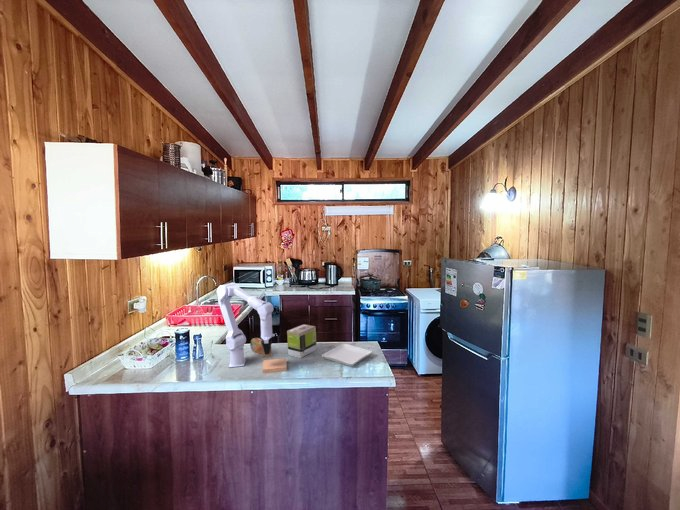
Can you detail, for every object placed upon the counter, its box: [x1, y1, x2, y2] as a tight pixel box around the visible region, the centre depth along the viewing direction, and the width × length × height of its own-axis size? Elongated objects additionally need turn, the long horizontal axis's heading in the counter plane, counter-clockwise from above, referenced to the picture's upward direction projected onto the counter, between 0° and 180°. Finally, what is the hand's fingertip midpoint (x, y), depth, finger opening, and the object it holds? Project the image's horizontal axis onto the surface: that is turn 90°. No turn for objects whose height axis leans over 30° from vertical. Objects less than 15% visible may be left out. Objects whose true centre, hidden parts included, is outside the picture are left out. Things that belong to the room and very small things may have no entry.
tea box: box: [286, 324, 318, 359], centre depth 190 cm, size 15×10×15 cm, turn 146°
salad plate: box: [321, 343, 373, 367], centre depth 182 cm, size 21×21×3 cm
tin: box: [249, 337, 263, 356], centre depth 191 cm, size 15×3×8 cm, turn 48°
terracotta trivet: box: [262, 357, 288, 374], centre depth 171 cm, size 12×12×2 cm
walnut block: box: [261, 346, 273, 359], centre depth 168 cm, size 4×4×6 cm
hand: (267, 352), depth 168 cm, fingers closed on walnut block, 4 cm apart
